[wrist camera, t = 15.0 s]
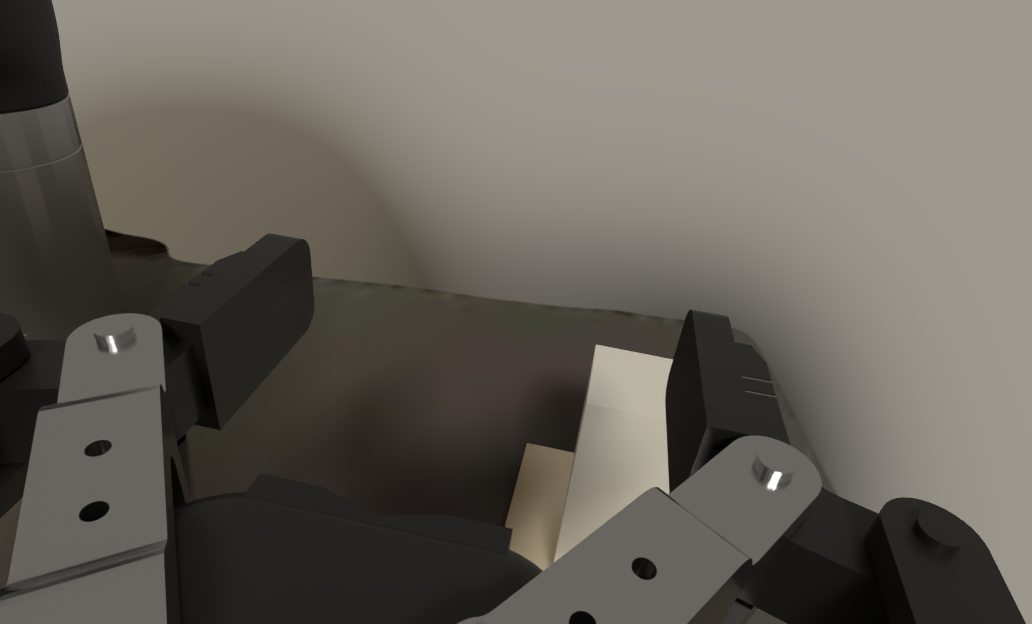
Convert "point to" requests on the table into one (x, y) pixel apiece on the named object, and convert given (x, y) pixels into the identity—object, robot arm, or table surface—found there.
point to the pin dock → (539, 503)
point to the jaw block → (616, 442)
